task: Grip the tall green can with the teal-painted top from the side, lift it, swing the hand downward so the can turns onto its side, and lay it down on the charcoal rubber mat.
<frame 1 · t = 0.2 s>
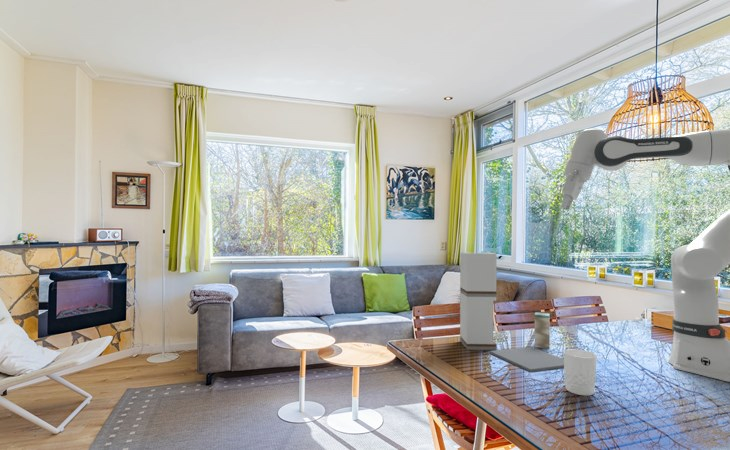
hand: (564, 208, 147), 52 cm above the table, tool tilted 20°, fingers open, 8 cm apart
rubber mat: (530, 359, 133), on the table
white cup: (579, 391, 106), on the table
grey square tower: (477, 346, 149), on the table
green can: (542, 346, 149), on the table
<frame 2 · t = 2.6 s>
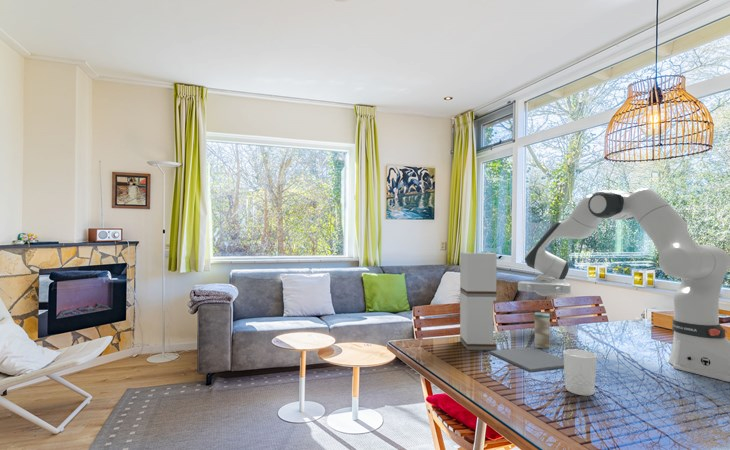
hand: (543, 289, 161), 20 cm above the table, tool horizontal, fingers open, 8 cm apart
nothing on the table moved.
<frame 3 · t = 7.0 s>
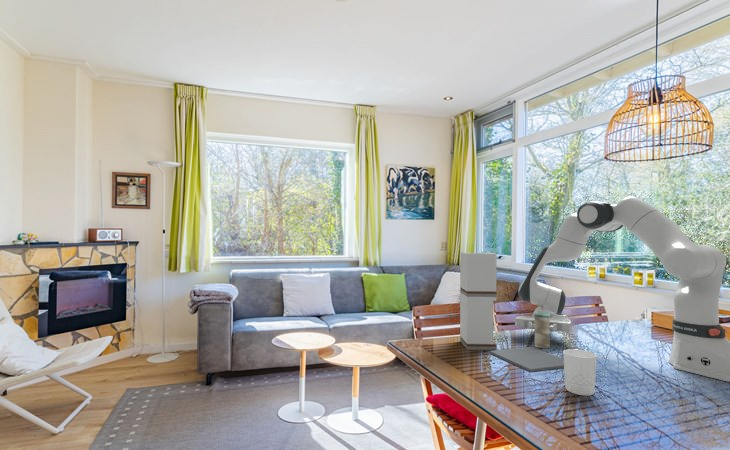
hand: (542, 327, 148), 7 cm above the table, tool horizontal, fingers closed on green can, 5 cm apart
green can: (542, 346, 149), on the table, touching gripper
everything else where it was.
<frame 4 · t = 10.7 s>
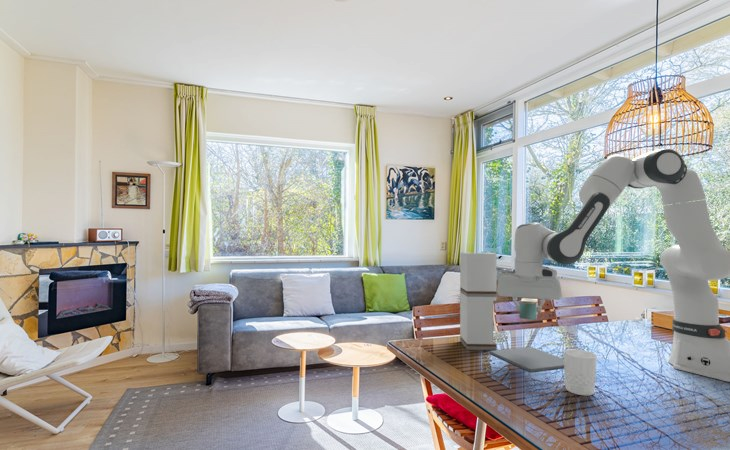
hand: (528, 311, 134), 16 cm above the table, tool pointing down, fingers closed on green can, 5 cm apart
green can: (530, 305, 140), point 17 cm above the table, tilted 90°, touching gripper
everything else where it was.
when the fingers open (4 cm above the table, at t = 13.3 s): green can drops 2 cm, resting on rubber mat.
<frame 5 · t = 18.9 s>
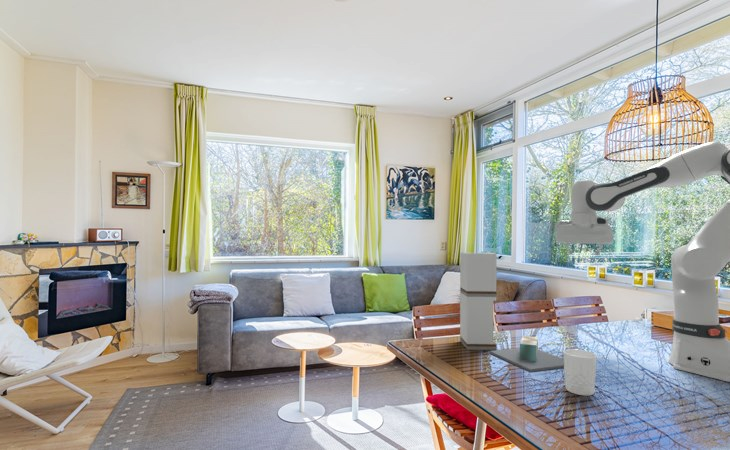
hand: (583, 254, 158), 34 cm above the table, tool pointing down, fingers open, 8 cm apart
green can: (530, 343, 140), point 3 cm above the table, tilted 90°, touching rubber mat
everything else where it was.
at the end: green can tilted 90°; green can touching rubber mat; the gripper is holding nothing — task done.
